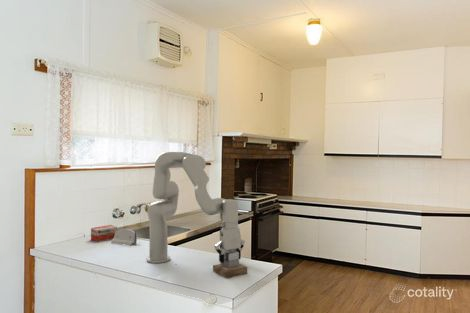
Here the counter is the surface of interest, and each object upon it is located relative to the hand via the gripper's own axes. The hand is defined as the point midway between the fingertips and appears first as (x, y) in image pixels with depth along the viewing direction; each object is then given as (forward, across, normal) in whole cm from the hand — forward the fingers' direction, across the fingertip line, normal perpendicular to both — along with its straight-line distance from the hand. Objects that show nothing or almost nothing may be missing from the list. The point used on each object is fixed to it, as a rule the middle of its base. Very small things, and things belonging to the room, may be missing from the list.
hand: (230, 260), depth 171 cm
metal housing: (+3, 0, 0) cm, 3 cm away
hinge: (+6, -22, +86) cm, 89 cm away
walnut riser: (+6, 0, 0) cm, 6 cm away
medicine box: (+6, -30, +105) cm, 110 cm away
